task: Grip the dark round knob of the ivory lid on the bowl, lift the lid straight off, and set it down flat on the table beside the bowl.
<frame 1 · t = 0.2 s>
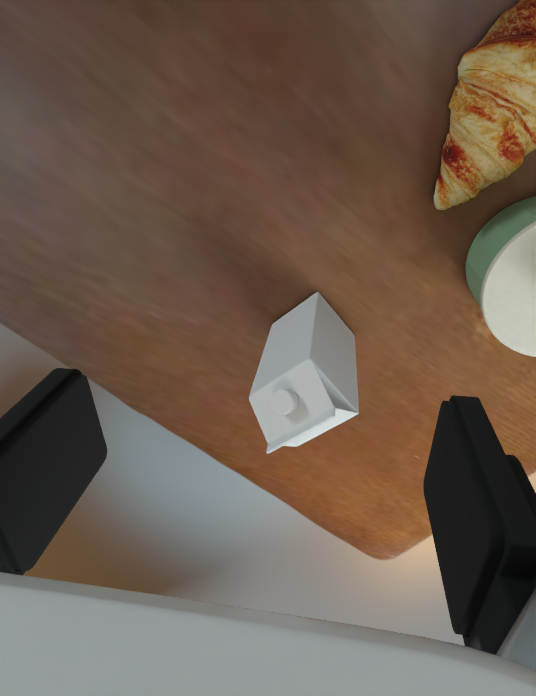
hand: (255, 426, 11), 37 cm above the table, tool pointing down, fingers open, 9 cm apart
bowl: (531, 259, 43), on the table
milk carton: (313, 328, 51), on the table
croissant: (504, 89, 36), on the table
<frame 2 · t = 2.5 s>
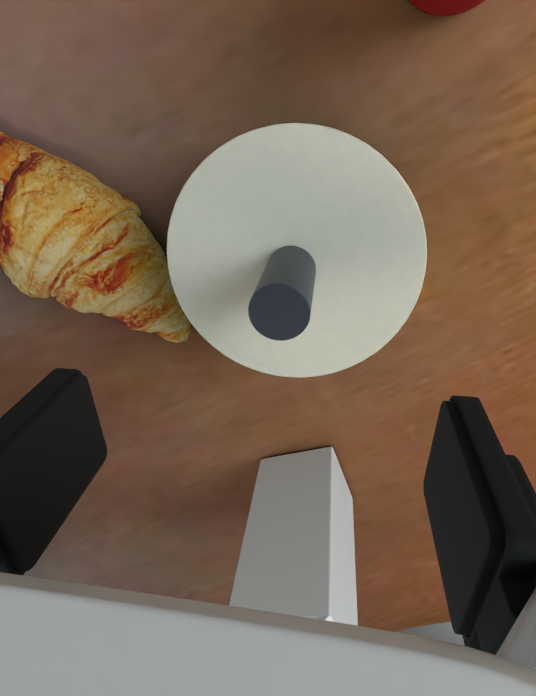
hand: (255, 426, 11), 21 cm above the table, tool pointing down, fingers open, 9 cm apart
lid: (292, 265, 23), point 7 cm above the table, touching bowl
milk carton: (307, 476, 41), on the table
croissant: (88, 234, 32), on the table
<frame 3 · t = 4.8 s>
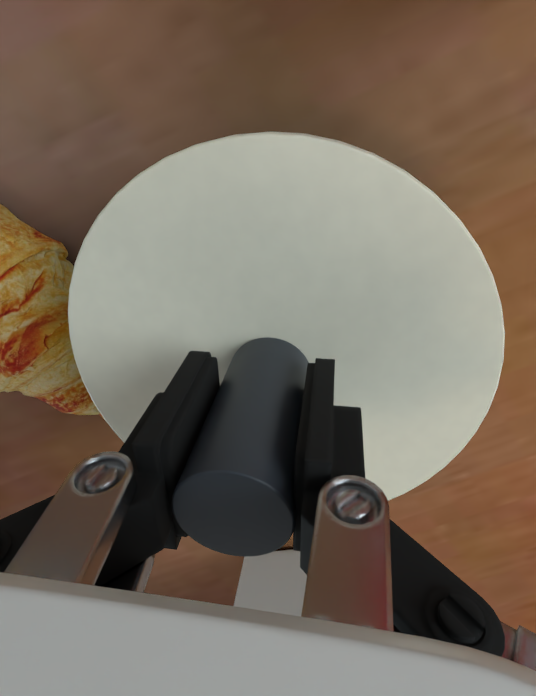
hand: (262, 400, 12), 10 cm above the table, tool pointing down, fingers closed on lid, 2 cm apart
lid: (273, 361, 14), point 8 cm above the table, touching gripper, bowl
milk carton: (304, 574, 32), on the table
croissant: (3, 278, 23), on the table
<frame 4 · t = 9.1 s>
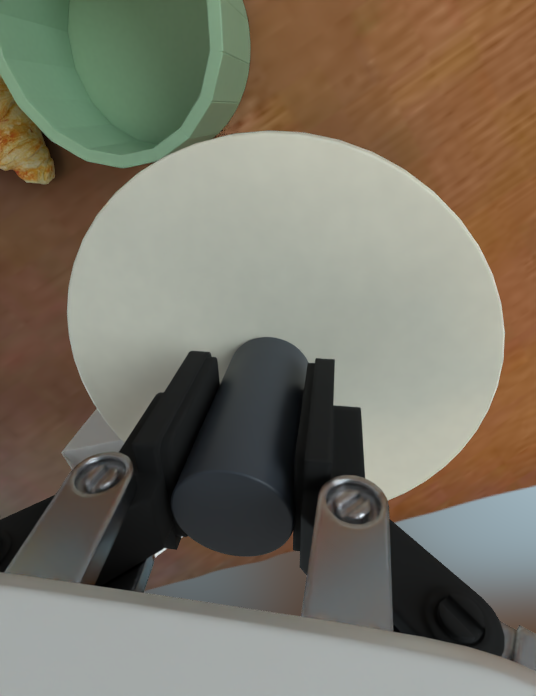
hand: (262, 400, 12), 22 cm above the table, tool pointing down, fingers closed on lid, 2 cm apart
lid: (273, 360, 14), point 20 cm above the table, touching gripper
bowl: (155, 48, 27), on the table
milk carton: (204, 359, 39), on the table
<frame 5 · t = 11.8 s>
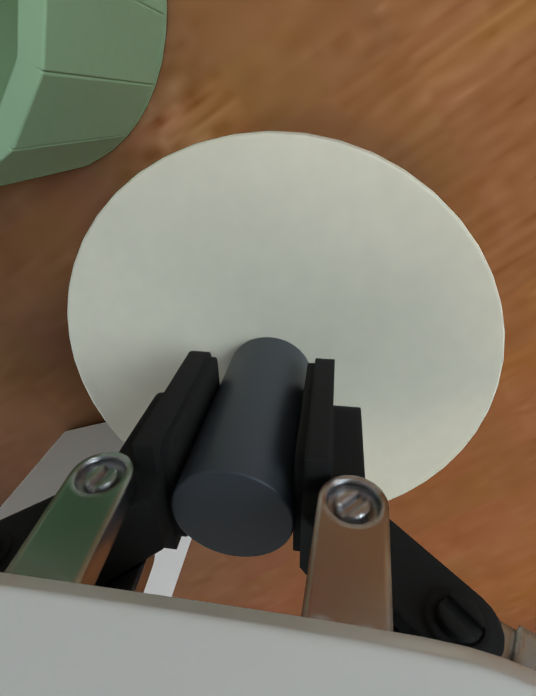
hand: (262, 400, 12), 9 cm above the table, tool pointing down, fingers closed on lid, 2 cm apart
lid: (273, 361, 14), point 7 cm above the table, touching gripper
milk carton: (140, 457, 27), on the table
when the fingers open (3 cm above the table, at t = 13.4 s): lid stays where it is, point 1 cm above the table.
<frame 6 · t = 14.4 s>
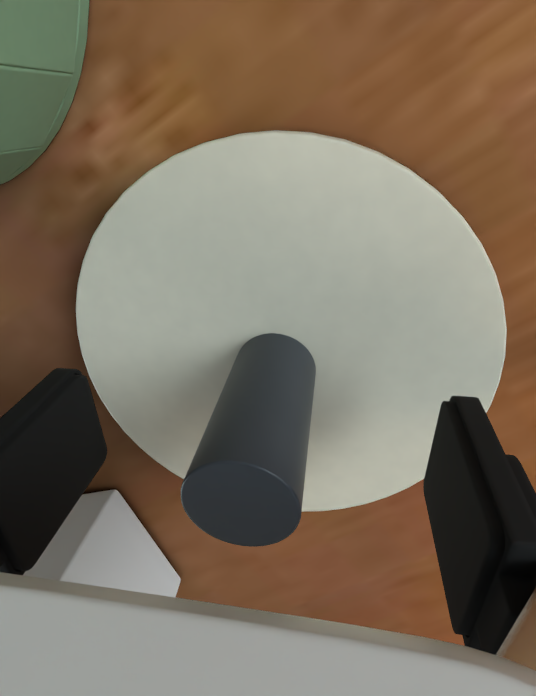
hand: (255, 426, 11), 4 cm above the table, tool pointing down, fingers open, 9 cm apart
lid: (278, 357, 14), point 1 cm above the table
milk carton: (98, 537, 22), on the table
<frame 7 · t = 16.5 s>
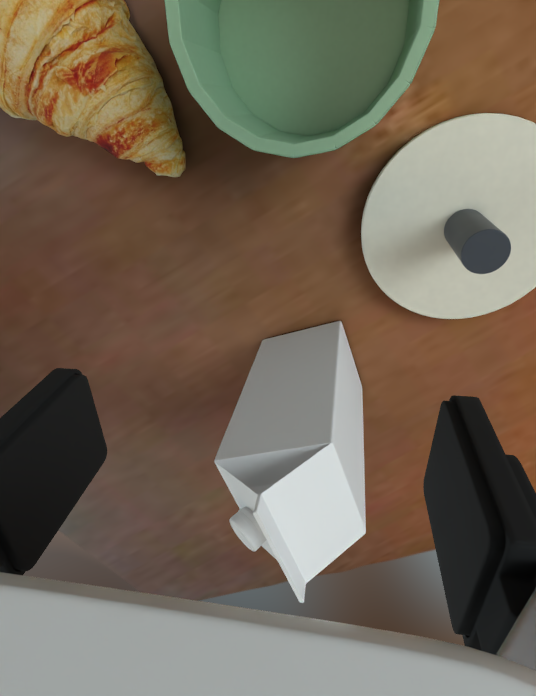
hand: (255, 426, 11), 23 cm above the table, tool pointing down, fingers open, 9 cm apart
lid: (461, 225, 29), point 1 cm above the table
bowl: (310, 31, 26), on the table
milk carton: (313, 362, 37), on the table
croissant: (74, 53, 29), on the table
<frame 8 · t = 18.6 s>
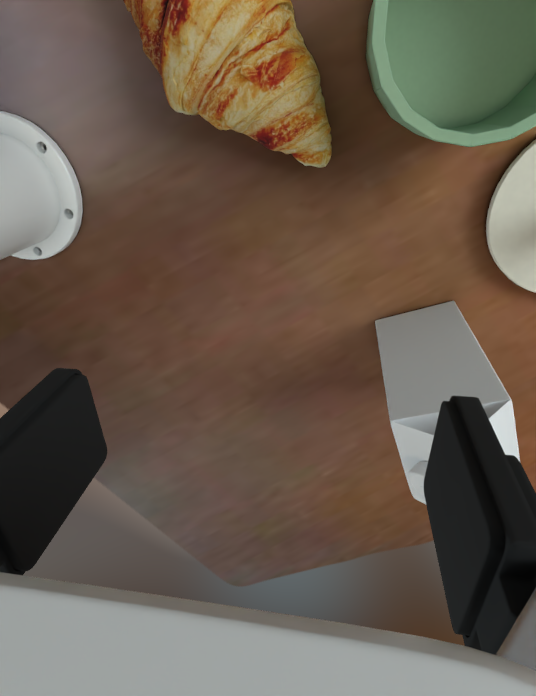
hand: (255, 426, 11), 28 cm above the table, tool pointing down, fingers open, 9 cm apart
bowl: (461, 33, 28), on the table
milk carton: (420, 341, 40), on the table
croissant: (230, 53, 31), on the table
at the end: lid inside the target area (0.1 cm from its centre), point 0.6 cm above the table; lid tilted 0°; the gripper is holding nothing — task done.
